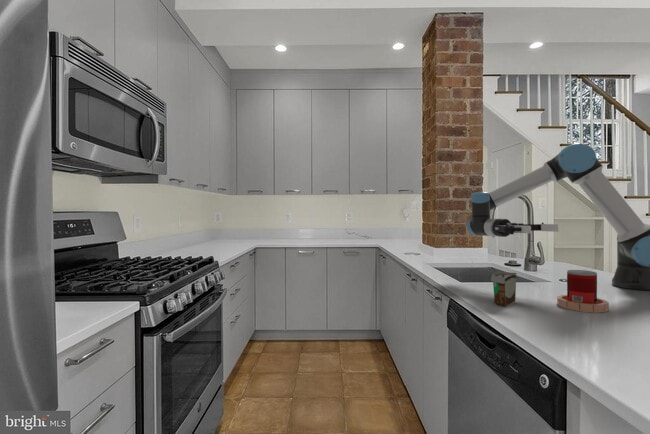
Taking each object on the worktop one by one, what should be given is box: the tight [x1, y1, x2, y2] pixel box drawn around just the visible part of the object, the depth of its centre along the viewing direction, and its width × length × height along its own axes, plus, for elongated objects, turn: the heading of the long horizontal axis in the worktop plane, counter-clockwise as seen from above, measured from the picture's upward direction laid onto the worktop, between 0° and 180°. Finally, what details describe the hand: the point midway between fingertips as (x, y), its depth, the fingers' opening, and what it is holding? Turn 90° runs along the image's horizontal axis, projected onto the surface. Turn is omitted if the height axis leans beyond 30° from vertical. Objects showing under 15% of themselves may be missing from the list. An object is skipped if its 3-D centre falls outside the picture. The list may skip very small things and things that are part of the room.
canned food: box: [566, 269, 598, 304], centre depth 118 cm, size 8×8×11 cm
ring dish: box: [556, 294, 610, 313], centre depth 118 cm, size 13×13×2 cm
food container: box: [490, 271, 518, 308], centre depth 124 cm, size 12×6×10 cm, turn 134°
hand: (544, 228), depth 131 cm, fingers open, 13 cm apart
